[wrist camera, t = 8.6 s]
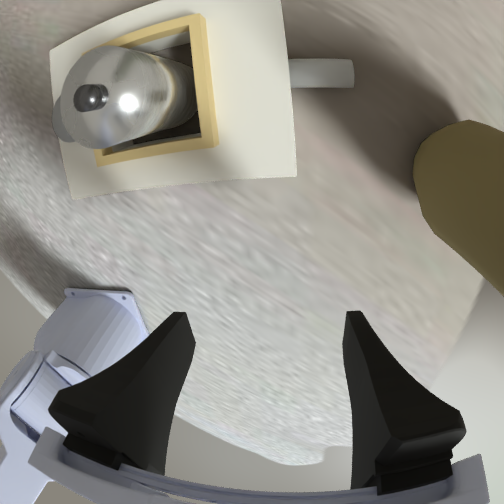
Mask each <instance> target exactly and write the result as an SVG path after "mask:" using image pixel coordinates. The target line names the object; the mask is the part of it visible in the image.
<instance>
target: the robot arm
mask: <svg viewBox="0 0 504 504" xmlns="http://www.w3.org/2000/svg"><path fill="white" fill-rule="evenodd" d="M64 293H65V295H66V297H67V298H66V299H65V300H64V301H63V302H62V303H61V304H60V305H59V307H58V308H57V309H56V310H55V311H54V312H53V313H52V315H51V316H50V317H49V318H48V319H47V321H46V322H45V323H44V324H43V325H42V327H41V328H40V329H39V331H38V333H37V335H36V338H35V342H34V351H32V350H31V351H29V352H28V353H27V354H26V355H25V356H24V357H23V358H22V359H21V360H20V361H19V362H18V363H17V365H16V366H15V367H14V368H13V370H12V371H11V373H10V374H9V375H8V377H7V378H6V380H5V381H4V383H3V385H2V387H1V389H0V439H1V442H2V446H1V448H0V504H34V502H35V501H36V499H37V497H38V496H39V494H40V493H41V491H42V490H43V488H44V486H45V485H46V483H47V482H49V481H56V482H57V483H59V484H61V485H63V486H64V487H66V488H68V489H70V490H71V491H73V492H75V493H77V494H79V495H81V496H83V497H85V498H86V499H88V500H90V501H93V502H95V503H97V504H194V503H190V502H185V501H181V500H177V499H173V498H170V497H169V496H168V495H167V494H165V493H162V492H166V493H170V494H173V495H177V496H182V497H187V498H191V499H196V500H201V501H206V502H212V503H218V504H488V503H489V502H490V500H489V493H488V487H487V481H486V476H485V471H484V467H483V462H482V457H481V454H477V455H475V456H472V457H469V458H466V459H464V460H461V461H458V462H456V463H454V464H452V465H451V461H450V459H451V458H452V457H453V454H452V449H453V448H454V447H455V446H456V445H457V444H458V443H459V442H460V441H461V440H462V439H463V437H464V436H465V434H466V428H465V424H464V421H463V418H462V416H461V414H460V411H459V410H457V409H455V408H454V407H452V406H450V405H448V404H447V403H445V402H444V401H442V400H440V399H439V398H438V397H436V396H435V395H434V394H432V393H431V392H430V391H428V390H427V389H426V388H425V387H424V386H422V385H421V384H420V383H419V382H417V381H416V380H415V379H414V378H413V377H412V376H411V375H410V374H409V373H408V372H407V371H406V370H405V369H404V368H403V367H402V366H401V365H400V364H399V363H398V361H397V360H396V359H395V358H394V357H393V355H392V354H391V353H390V352H389V351H388V349H387V348H386V347H385V345H384V344H383V343H382V341H381V340H380V339H379V337H378V336H377V334H376V333H375V332H374V330H373V329H372V327H371V326H370V324H369V323H368V321H367V319H366V318H365V316H364V315H363V313H362V312H361V311H347V313H346V321H345V329H344V336H343V343H342V345H343V359H344V368H345V373H346V379H347V384H348V390H349V396H350V402H351V409H352V429H353V455H352V477H351V489H350V490H341V491H327V492H299V493H298V492H295V493H294V492H265V491H251V490H241V489H232V488H224V487H217V486H211V485H205V484H199V483H193V482H189V481H184V480H180V479H175V478H171V477H167V476H164V475H165V463H166V453H167V447H168V440H169V434H170V429H171V424H172V419H173V415H174V411H175V407H176V403H177V400H178V397H179V395H180V392H181V389H182V386H183V384H184V381H185V378H186V376H187V373H188V370H189V368H190V365H191V362H192V358H193V354H194V349H195V344H196V342H195V339H194V336H193V333H192V330H191V327H190V324H189V321H188V317H187V314H186V312H173V313H172V314H171V315H170V316H169V317H168V318H167V319H166V320H165V321H164V322H163V323H162V324H160V325H159V326H158V327H157V328H156V329H155V330H154V331H153V332H152V333H151V334H150V335H149V333H148V331H147V328H146V326H145V324H144V321H143V319H142V316H141V314H140V311H139V309H138V306H137V304H136V301H135V299H134V296H133V294H132V293H130V292H127V291H109V290H92V289H78V288H66V289H65V290H64ZM124 296H125V297H124ZM16 415H17V416H18V417H19V418H18V417H17V416H16ZM23 421H24V422H25V423H26V424H25V423H24V422H23ZM30 427H31V428H30ZM35 431H36V432H35ZM40 435H41V436H40ZM154 489H155V490H154ZM157 490H158V491H157ZM160 491H162V492H160Z"/></svg>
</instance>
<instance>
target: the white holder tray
mask: <svg viewBox="0 0 504 504" xmlns="http://www.w3.org/2000/svg"><path fill="white" fill-rule="evenodd" d="M187 43H191V51H192V61H193V70H194V79H195V88H196V96H197V105H198V113H199V121H200V129H201V133H197V134H190V135H184V136H177V137H171V138H166V139H160V140H155V141H149V142H144V143H139V144H135V145H133V140H132V139H131V140H128V141H125V142H122V143H119V144H116V145H113V146H110V147H107V148H103V149H90V148H87V147H84V146H82V145H80V144H79V143H77V142H76V141H75V140H74V139H73V138H72V137H71V136H70V135H69V133H68V131H67V130H66V128H65V126H64V123H63V120H62V116H61V109H60V99H61V92H62V87H63V84H64V81H65V79H66V77H67V75H68V73H69V71H70V69H71V68H72V66H73V65H74V64H75V63H76V61H77V60H78V59H79V58H81V57H82V56H83V55H84V54H86V53H87V52H89V51H90V50H92V49H95V48H97V47H101V46H107V45H110V46H118V47H123V48H127V49H132V50H136V51H140V52H144V53H148V54H149V53H152V52H156V51H159V50H163V49H167V48H170V47H174V46H178V45H183V44H187ZM50 72H51V85H52V96H53V104H54V108H53V112H52V125H53V129H54V131H55V133H56V135H57V136H58V138H59V144H60V149H61V154H62V159H63V164H64V168H65V173H66V177H67V181H68V185H69V189H70V193H71V197H72V200H76V199H82V198H88V197H93V196H99V195H106V194H112V193H118V192H125V191H132V190H140V189H147V188H155V187H163V186H172V185H181V184H191V183H201V182H213V181H225V180H239V179H255V178H274V177H297V168H296V151H295V135H294V121H293V108H292V96H291V88H308V87H334V88H353V86H354V79H355V76H354V67H353V63H352V61H351V60H349V59H288V55H287V46H286V38H285V30H284V22H283V14H282V7H281V0H161V1H158V2H154V3H151V4H148V5H145V6H143V7H140V8H137V9H134V10H132V11H129V12H127V13H124V14H121V15H119V16H117V17H114V18H112V19H110V20H107V21H105V22H103V23H101V24H99V25H96V26H94V27H92V28H90V29H88V30H86V31H84V32H82V33H80V34H78V35H76V36H75V37H73V38H71V39H69V40H67V41H65V42H64V43H62V44H60V45H59V46H57V47H55V48H53V49H52V50H50Z"/></svg>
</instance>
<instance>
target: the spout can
mask: <svg viewBox="0 0 504 504" xmlns="http://www.w3.org/2000/svg"><path fill="white" fill-rule="evenodd" d="M60 109H61V116H62V120H63V123H64V126H65V128H66V130H67V131H68V133H69V135H70V136H71V137H72V138H73V139H74V140H75V141H76V142H77V143H79V144H80V145H82V146H84V147H87V148H90V149H103V148H107V147H110V146H113V145H116V144H119V143H122V142H125V141H128V140H131V139H135V138H138V137H141V136H145V135H148V134H151V133H155V132H158V131H162V130H166V129H170V128H173V127H177V126H179V125H182V124H183V123H185V122H187V121H188V120H189V119H190V118H191V117H192V116H193V115H194V114H195V112H196V111H197V109H198V105H197V96H196V88H195V79H194V70H193V69H192V68H190V67H189V66H187V65H185V64H183V63H180V62H177V61H173V60H170V59H167V58H163V57H159V56H156V55H152V54H148V53H144V52H140V51H136V50H132V49H127V48H123V47H118V46H110V45H107V46H101V47H97V48H95V49H92V50H90V51H89V52H87V53H86V54H84V55H83V56H82V57H81V58H79V59H78V60H77V61H76V63H75V64H74V65H73V66H72V68H71V69H70V71H69V73H68V75H67V77H66V79H65V81H64V84H63V87H62V92H61V99H60Z"/></svg>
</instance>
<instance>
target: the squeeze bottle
mask: <svg viewBox="0 0 504 504" xmlns="http://www.w3.org/2000/svg"><path fill="white" fill-rule="evenodd" d="M412 175H413V179H414V183H415V187H416V191H417V195H418V199H419V203H420V207H421V211H422V215H423V217H424V218H425V220H426V221H427V223H428V225H429V226H430V228H431V229H432V231H433V232H434V234H435V235H437V236H438V237H439V238H440V239H442V240H443V241H444V242H445V243H446V244H448V245H449V246H450V247H451V248H452V249H453V250H455V251H456V252H457V253H458V254H459V255H460V256H462V257H463V258H464V259H465V260H466V261H467V262H468V263H469V264H470V265H472V266H473V267H474V268H475V269H476V270H477V271H478V272H479V273H480V274H481V275H482V276H483V277H484V278H485V279H486V280H488V281H489V282H490V283H491V284H492V285H493V286H494V287H495V288H496V289H497V290H498V291H499V292H500V293H501V294H502V295H503V296H504V132H502V131H500V130H498V129H495V128H493V127H491V126H488V125H486V124H482V123H479V122H476V121H472V120H465V121H461V122H458V123H454V124H450V125H448V126H446V127H444V128H442V129H440V130H438V131H436V132H434V133H432V134H431V135H430V136H429V137H428V138H427V139H426V140H424V141H423V142H422V143H421V145H420V147H419V149H418V151H417V153H416V155H415V157H414V165H413V174H412Z"/></svg>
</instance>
